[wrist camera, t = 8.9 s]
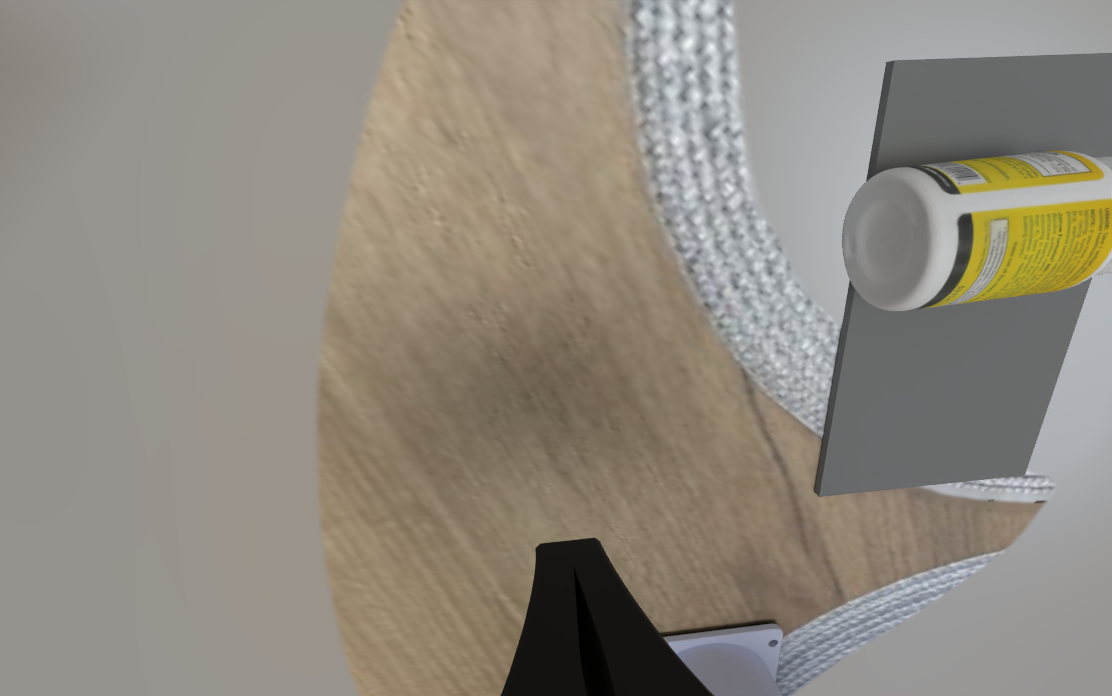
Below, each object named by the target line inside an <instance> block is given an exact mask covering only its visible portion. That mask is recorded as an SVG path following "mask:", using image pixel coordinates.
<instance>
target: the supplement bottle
mask: <svg viewBox="0 0 1112 696" xmlns="http://www.w3.org/2000/svg"><path fill="white" fill-rule="evenodd" d="M842 247H843V256H844V261H845V266H846V270H847V273H848V276H849V278H850V281H851V283H852V285H853V287H854V288H855V290H856V291H857V292H858V294H859V295H860V296H861V297H862V298H863V299H864V300H865V301H867V302H868V303H869V304H871V305H873V306H875V307H877V308H879V309H883V310H887V311H909V310H915V309H921V308H931V307H939V306H946V305H954V304H962V303H969V302H977V301H985V300H993V299H1000V298H1008V297H1016V296H1024V295H1031V294H1039V293H1047V292H1054V291H1059V290H1063V289H1067V288H1070V287H1073V286H1075V285H1078V284H1080V283H1082V282H1084V281H1086V280H1088V279H1089V278H1091V277H1092V276H1095V275H1102V274H1107V273H1112V156H1110V157H1091V156H1088V155H1085V154H1082V153H1078V152H1073V151H1045V152H1036V153H1027V154H1018V155H1009V156H999V157H990V158H980V159H972V160H963V161H953V162H945V163H934V164H926V165H918V166H909V167H899V168H893V169H888V170H885V171H883V172H880V173H878V174H877V175H875V176H873V177H872V178H871V179H869V180H868V181H867V182H866V183H865V184H864V185H863V186H862V187H861V188H860V189H859V191H858V192H857V193H856V195H855V196H854V198H853V200H852V201H851V203H850V205H849V208H848V211H847V213H846V216H845V220H844V226H843V233H842Z"/></svg>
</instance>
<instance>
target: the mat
mask: <svg viewBox="0 0 1112 696" xmlns="http://www.w3.org/2000/svg"><path fill="white" fill-rule="evenodd" d="M1045 151H1073V152H1078V153H1082V154H1085V155H1088V156H1091V157H1110V156H1112V53H1103V54H1102V53H1100V54H1073V55H1072V54H1071V55H1043V56H1015V57H985V58H956V59H927V60H898V61H890V62H886V68H885V73H884V80H883V85H882V91H881V97H880V104H879V109H878V115H877V121H876V127H875V133H874V139H873V145H872V151H871V157H870V163H869V169H868V175H867V181H868V180H869V179H871V178H872V177H873V176H875V175H877V174H878V173H880V172H883V171H885V170H888V169H893V168H899V167H909V166H918V165H926V164H934V163H945V162H953V161H963V160H972V159H980V158H990V157H999V156H1009V155H1018V154H1027V153H1036V152H1045ZM867 181H866V182H867ZM1091 279H1092V277H1091V278H1089V279H1088V280H1086V281H1084V282H1082V283H1080V284H1078V285H1075V286H1073V287H1070V288H1067V289H1063V290H1059V291H1054V292H1047V293H1039V294H1031V295H1024V296H1016V297H1008V298H1000V299H993V300H985V301H977V302H969V303H962V304H954V305H946V306H939V307H931V308H921V309H915V310H909V311H887V310H883V309H879V308H877V307H875V306H873V305H871V304H869V303H868V302H867V301H865V300H864V299H863V298H862V297H861V296H860V295H859V294H858V292H857V291H856V290H855V288H854V287H853V285H852V283H851V281H850V282H849V288H848V294H847V300H846V306H845V312H844V319H843V324H842V330H841V336H840V342H839V347H838V353H837V359H836V365H835V371H834V377H833V383H832V389H831V395H830V401H829V407H828V413H827V419H826V425H825V431H824V437H823V443H822V449H821V455H820V461H819V467H818V473H817V479H816V485H815V491H814V492H815V493H816V494H817V495H818V496H819V497H822V496H832V495H841V494H851V493H860V492H870V491H879V490H889V489H898V488H908V487H917V486H927V485H936V484H946V483H955V482H965V481H974V480H984V479H993V478H1003V477H1012V476H1022V475H1025V473H1026V470H1027V467H1028V464H1029V461H1030V458H1031V455H1032V452H1033V449H1034V447H1035V444H1036V440H1037V438H1038V435H1039V432H1040V429H1041V426H1042V423H1043V420H1044V417H1045V414H1046V411H1047V408H1048V405H1049V402H1050V400H1051V396H1052V394H1053V391H1054V388H1055V385H1056V382H1057V379H1058V376H1059V373H1060V370H1061V367H1062V364H1063V361H1064V358H1065V356H1066V353H1067V349H1068V347H1069V344H1070V341H1071V338H1072V335H1073V332H1074V329H1075V326H1076V323H1077V320H1078V317H1079V314H1080V311H1081V309H1082V305H1083V303H1084V300H1085V297H1086V294H1087V291H1088V288H1089V285H1090V282H1091Z"/></svg>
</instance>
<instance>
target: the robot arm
mask: <svg viewBox="0 0 1112 696" xmlns="http://www.w3.org/2000/svg"><path fill="white" fill-rule="evenodd" d="M782 637H783V632H782V630H781V628H780V627H779V625H777V624H764V625H756V626H748V627H740V628H732V629H724V630H716V631H708V632H700V633H692V634H684V635H676V636H668V637H662V636H661V634H660V633H659V632H658V631H657V629H656V628H655V627H654V625H653V624H652V623H651V621H650V620H649V619H648V617H647V616H646V615H645V613H644V612H643V610H642V609H641V608H640V606H639V605H638V603H637V602H636V601H635V599H634V598H633V596H632V595H631V594H630V592H629V591H628V589H627V588H626V586H625V585H624V583H623V581H622V580H621V578H620V577H619V575H618V573H617V572H616V570H615V569H614V567H613V565H612V563H611V562H610V560H609V558H608V556H607V555H606V553H605V551H604V549H603V547H602V545H601V543H600V541H599V540H597V539H596V538H588V539H579V540H570V541H560V542H551V543H542V544H540V545H539V546H538V547H536V565H535V575H534V581H533V587H532V593H531V598H530V602H529V606H528V610H527V614H526V619H525V623H524V627H523V630H522V634H521V637H520V640H519V644H518V647H517V650H516V653H515V656H514V660H513V663H512V666H511V669H510V672H509V675H508V678H507V680H506V683H505V686H504V689H503V691H502V694H501V696H782V694H781V693H780V691H779V689H778V687H777V685H776V683H775V681H776V675H777V668H778V662H779V656H780V650H781V643H782Z"/></svg>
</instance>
